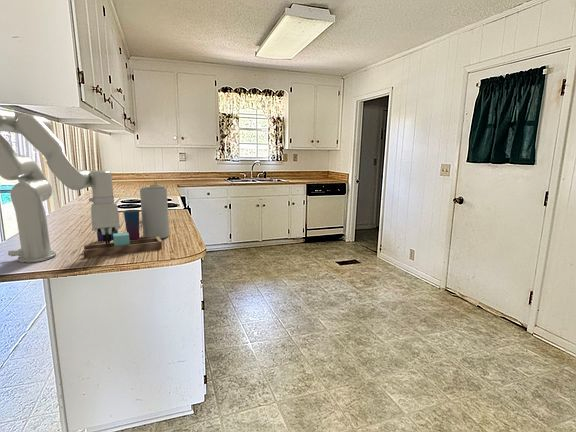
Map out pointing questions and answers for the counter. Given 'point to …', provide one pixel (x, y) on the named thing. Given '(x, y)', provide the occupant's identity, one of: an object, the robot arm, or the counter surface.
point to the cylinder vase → (154, 212)
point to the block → (121, 239)
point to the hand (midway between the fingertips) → (107, 242)
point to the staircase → (156, 184)
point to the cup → (132, 223)
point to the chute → (122, 247)
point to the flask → (100, 236)
